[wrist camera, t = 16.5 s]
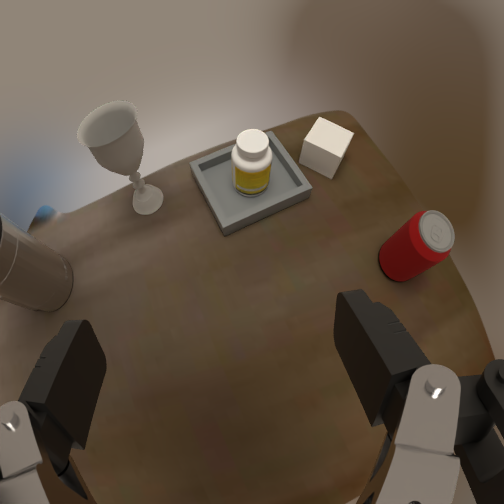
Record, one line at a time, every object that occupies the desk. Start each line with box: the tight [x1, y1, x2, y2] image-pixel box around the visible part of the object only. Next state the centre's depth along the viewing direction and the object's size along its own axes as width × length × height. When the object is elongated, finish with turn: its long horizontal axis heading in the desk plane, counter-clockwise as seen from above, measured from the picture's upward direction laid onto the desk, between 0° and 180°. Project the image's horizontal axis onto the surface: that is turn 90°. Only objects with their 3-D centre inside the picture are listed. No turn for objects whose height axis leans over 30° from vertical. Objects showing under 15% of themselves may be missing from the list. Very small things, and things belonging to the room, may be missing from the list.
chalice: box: [77, 100, 163, 215], centre depth 37 cm, size 7×7×18 cm
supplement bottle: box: [231, 129, 272, 197], centre depth 41 cm, size 5×5×10 cm
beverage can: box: [379, 210, 454, 282], centre depth 37 cm, size 7×7×12 cm
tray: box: [189, 131, 312, 236], centre depth 45 cm, size 14×12×3 cm
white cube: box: [299, 117, 354, 179], centre depth 46 cm, size 6×6×6 cm
